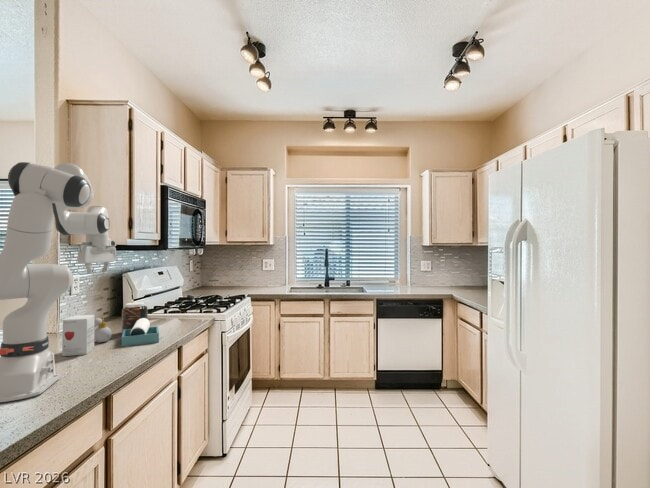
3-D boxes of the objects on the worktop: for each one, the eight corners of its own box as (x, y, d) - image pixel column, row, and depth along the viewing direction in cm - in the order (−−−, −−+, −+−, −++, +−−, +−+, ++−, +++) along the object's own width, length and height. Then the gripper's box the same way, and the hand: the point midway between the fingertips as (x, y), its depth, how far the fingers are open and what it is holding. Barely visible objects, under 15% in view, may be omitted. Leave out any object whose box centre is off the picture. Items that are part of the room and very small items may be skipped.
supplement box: (61, 356, 141) (61, 319, 141) (71, 350, 150) (71, 315, 150) (86, 354, 144) (87, 318, 144) (95, 348, 152) (95, 314, 152)
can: (146, 328, 160) (152, 317, 172) (131, 326, 158) (137, 315, 170) (144, 341, 161) (149, 330, 173) (128, 339, 159) (135, 328, 171)
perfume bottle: (112, 338, 168) (112, 313, 168) (110, 344, 159) (110, 317, 159) (94, 340, 164) (94, 315, 164) (90, 346, 156) (90, 319, 156)
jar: (146, 334, 177) (146, 304, 177) (120, 336, 172) (120, 306, 172) (148, 328, 188) (148, 300, 188) (123, 330, 183) (124, 302, 183)
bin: (158, 342, 162) (158, 333, 162) (121, 346, 155) (121, 337, 155) (158, 334, 175) (158, 326, 175) (123, 338, 169) (123, 329, 169)
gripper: (87, 242, 148) (87, 274, 148) (118, 242, 169) (118, 271, 169) (73, 242, 149) (73, 274, 149) (106, 242, 169) (106, 271, 169)
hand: (97, 272), depth 159 cm, fingers open, 8 cm apart
